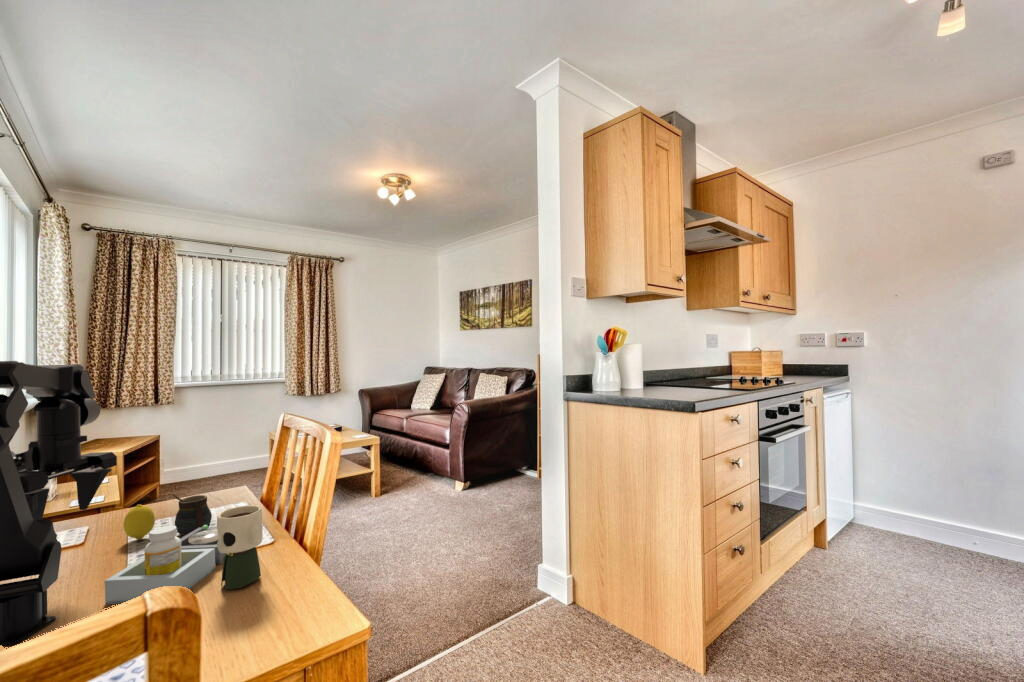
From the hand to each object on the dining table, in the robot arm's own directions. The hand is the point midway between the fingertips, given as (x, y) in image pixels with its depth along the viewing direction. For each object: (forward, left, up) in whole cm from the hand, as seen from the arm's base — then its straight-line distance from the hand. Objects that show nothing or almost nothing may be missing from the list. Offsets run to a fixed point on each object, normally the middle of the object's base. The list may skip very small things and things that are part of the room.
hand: (60, 518), depth 84 cm
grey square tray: (+12, -19, -12) cm, 26 cm away
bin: (-1, -19, -12) cm, 23 cm away
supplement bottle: (-1, -19, -12) cm, 23 cm away
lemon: (+21, +2, -13) cm, 25 cm away
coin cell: (+12, -19, -11) cm, 25 cm away
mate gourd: (+24, -8, -13) cm, 28 cm away
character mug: (-1, -33, -13) cm, 35 cm away
